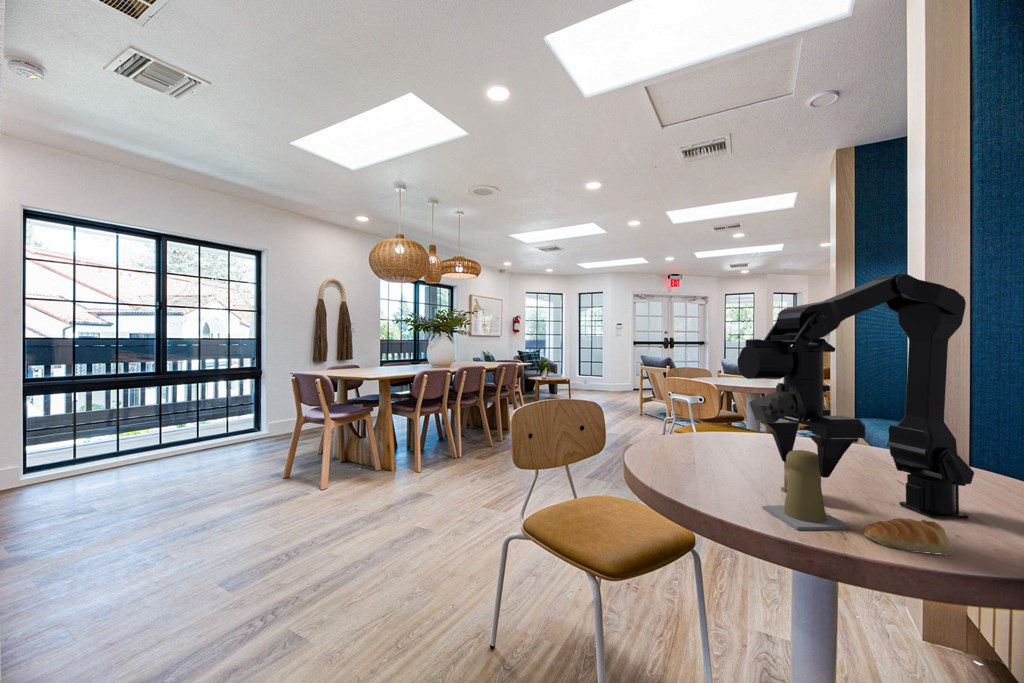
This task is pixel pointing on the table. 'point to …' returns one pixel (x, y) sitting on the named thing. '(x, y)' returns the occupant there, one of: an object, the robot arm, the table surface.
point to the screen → (786, 477)
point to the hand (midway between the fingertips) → (804, 468)
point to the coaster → (829, 524)
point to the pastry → (910, 535)
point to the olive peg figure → (804, 488)
